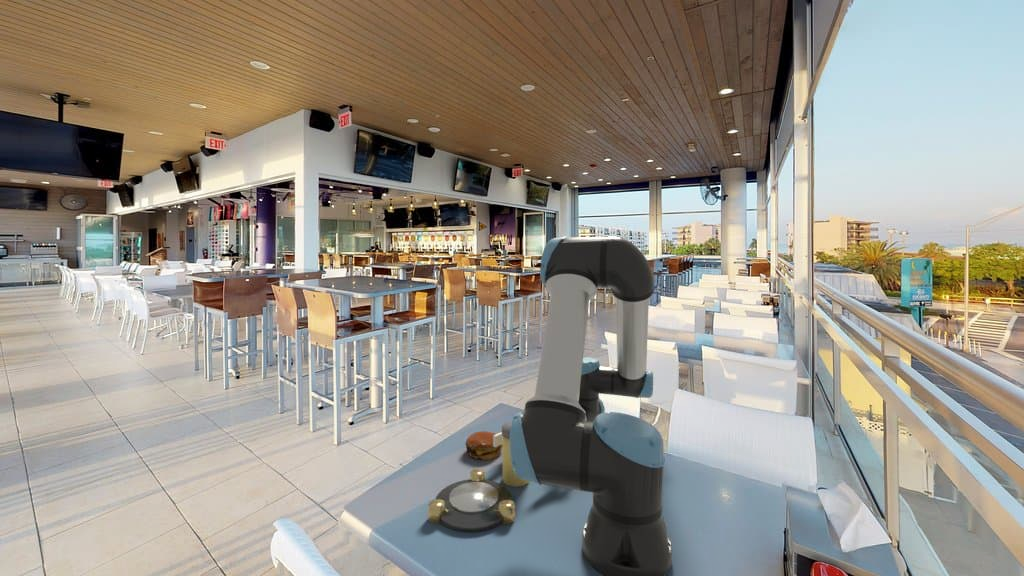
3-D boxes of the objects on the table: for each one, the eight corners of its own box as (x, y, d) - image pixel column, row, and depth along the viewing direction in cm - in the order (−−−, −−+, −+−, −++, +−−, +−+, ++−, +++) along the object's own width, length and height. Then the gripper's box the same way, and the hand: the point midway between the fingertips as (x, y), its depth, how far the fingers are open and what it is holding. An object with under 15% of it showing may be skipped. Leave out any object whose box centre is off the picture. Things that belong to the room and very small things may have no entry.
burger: (494, 441, 116) (494, 425, 116) (507, 456, 108) (507, 439, 108) (460, 448, 112) (460, 432, 112) (471, 464, 104) (471, 446, 103)
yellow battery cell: (536, 482, 95) (536, 426, 94) (510, 490, 92) (510, 432, 91) (521, 469, 101) (521, 416, 100) (496, 476, 98) (496, 421, 97)
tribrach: (528, 517, 82) (528, 502, 82) (444, 547, 74) (443, 531, 74) (490, 477, 97) (490, 465, 97) (416, 498, 89) (416, 485, 88)
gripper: (607, 450, 104) (560, 484, 88) (530, 423, 121) (478, 449, 105) (608, 421, 104) (560, 450, 88) (530, 398, 120) (478, 420, 104)
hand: (515, 450), depth 96 cm, fingers open, 13 cm apart
